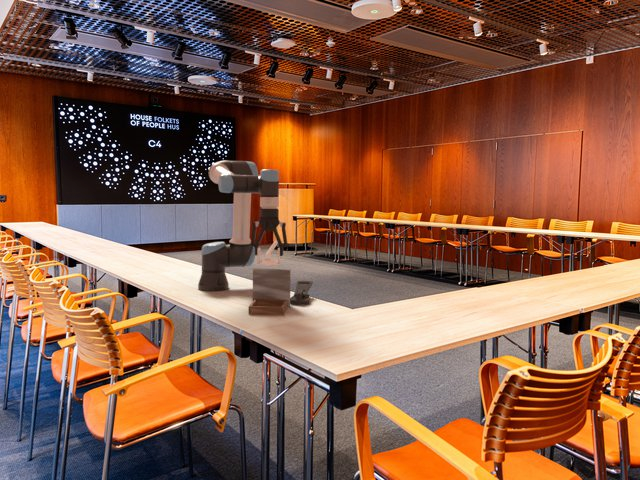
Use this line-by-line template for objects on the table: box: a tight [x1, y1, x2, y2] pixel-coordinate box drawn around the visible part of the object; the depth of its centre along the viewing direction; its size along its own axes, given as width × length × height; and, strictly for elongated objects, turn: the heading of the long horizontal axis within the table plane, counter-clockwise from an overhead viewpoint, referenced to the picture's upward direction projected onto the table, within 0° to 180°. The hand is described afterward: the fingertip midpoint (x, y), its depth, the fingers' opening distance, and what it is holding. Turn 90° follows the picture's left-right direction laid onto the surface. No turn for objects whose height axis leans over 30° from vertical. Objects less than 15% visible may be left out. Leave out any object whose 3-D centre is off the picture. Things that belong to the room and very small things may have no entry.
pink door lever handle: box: [259, 239, 279, 266], centre depth 196 cm, size 8×12×7 cm
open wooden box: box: [247, 268, 292, 316], centre depth 199 cm, size 17×16×16 cm
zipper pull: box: [290, 280, 314, 306], centre depth 221 cm, size 9×7×25 cm
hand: (268, 263), depth 196 cm, fingers closed on pink door lever handle, 8 cm apart
